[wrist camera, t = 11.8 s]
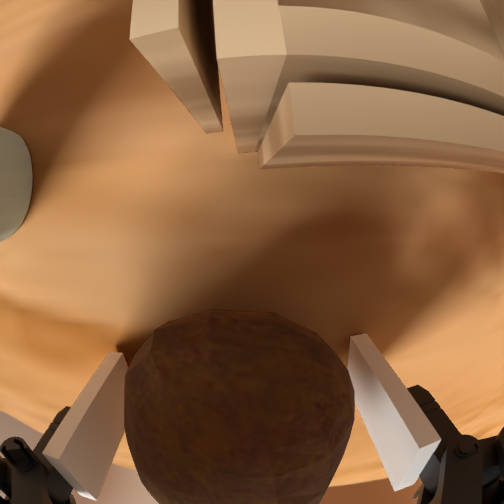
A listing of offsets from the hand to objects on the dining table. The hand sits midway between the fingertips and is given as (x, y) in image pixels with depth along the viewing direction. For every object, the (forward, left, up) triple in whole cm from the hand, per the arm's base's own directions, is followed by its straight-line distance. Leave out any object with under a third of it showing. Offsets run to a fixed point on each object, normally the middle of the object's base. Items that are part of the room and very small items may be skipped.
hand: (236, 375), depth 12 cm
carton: (-18, +9, 0) cm, 20 cm away
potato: (0, 0, -1) cm, 1 cm away
